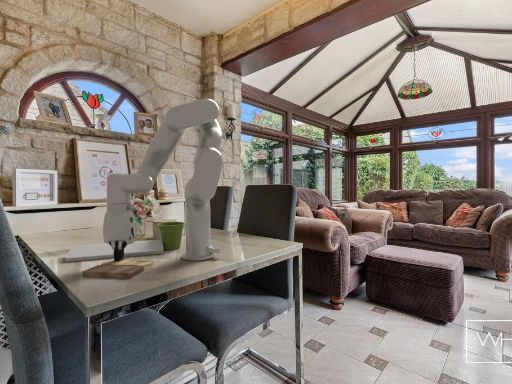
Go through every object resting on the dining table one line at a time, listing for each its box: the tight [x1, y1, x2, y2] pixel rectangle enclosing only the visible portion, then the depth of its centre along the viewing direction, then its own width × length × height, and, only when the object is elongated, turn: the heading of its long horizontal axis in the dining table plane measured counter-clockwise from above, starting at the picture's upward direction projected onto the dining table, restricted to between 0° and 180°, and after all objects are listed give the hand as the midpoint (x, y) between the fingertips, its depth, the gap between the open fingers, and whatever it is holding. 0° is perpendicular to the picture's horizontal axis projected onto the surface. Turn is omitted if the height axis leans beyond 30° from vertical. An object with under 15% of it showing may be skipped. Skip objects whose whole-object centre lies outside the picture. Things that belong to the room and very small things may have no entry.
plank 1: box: [100, 257, 135, 266], centre depth 95 cm, size 8×7×2 cm
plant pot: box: [157, 221, 186, 251], centre depth 122 cm, size 12×12×11 cm
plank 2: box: [123, 260, 155, 271], centre depth 94 cm, size 8×7×2 cm
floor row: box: [82, 264, 145, 279], centre depth 87 cm, size 16×8×2 cm, turn 83°
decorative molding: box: [64, 239, 164, 263], centre depth 111 cm, size 34×5×10 cm
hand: (118, 259), depth 96 cm, fingers closed
